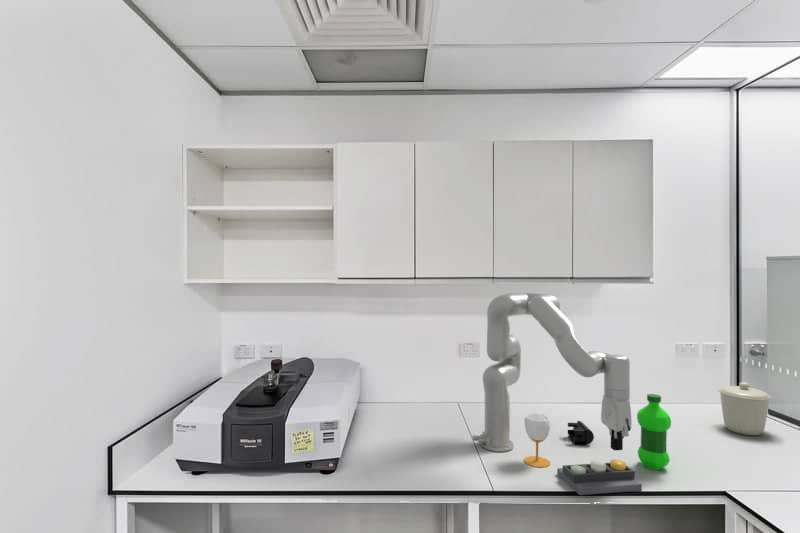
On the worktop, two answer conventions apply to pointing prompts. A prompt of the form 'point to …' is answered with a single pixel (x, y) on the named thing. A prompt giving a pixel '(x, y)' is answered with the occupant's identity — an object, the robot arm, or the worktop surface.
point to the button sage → (578, 469)
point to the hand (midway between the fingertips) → (616, 449)
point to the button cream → (598, 466)
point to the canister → (744, 409)
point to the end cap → (580, 434)
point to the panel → (600, 480)
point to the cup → (537, 436)
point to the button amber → (618, 465)
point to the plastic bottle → (653, 434)
